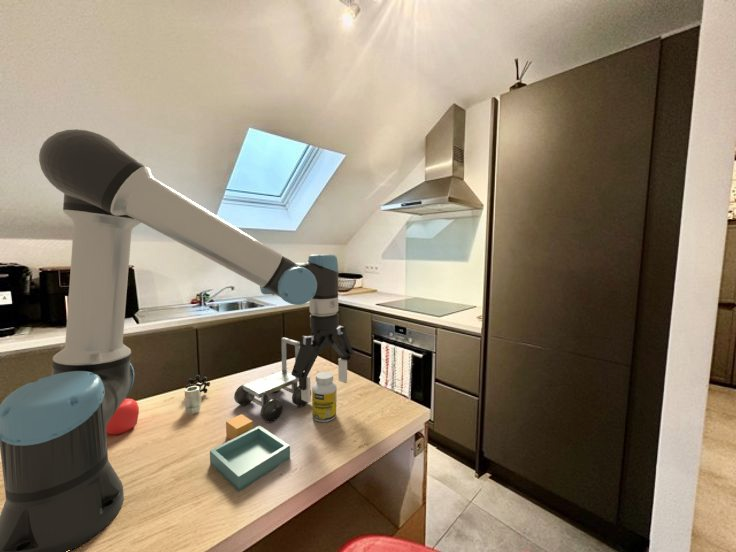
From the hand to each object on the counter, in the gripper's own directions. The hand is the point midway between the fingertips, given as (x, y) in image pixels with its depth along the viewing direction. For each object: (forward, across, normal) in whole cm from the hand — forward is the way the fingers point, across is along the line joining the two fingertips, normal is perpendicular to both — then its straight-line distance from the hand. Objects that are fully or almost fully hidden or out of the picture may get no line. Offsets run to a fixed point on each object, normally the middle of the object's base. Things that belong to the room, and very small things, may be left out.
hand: (325, 390), depth 82 cm
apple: (+7, -36, +35) cm, 51 cm away
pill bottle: (+7, 0, 0) cm, 7 cm away
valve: (+7, -20, +34) cm, 40 cm away
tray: (+7, -22, 0) cm, 23 cm away
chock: (+7, -19, +10) cm, 23 cm away
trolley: (+7, -5, +16) cm, 18 cm away
